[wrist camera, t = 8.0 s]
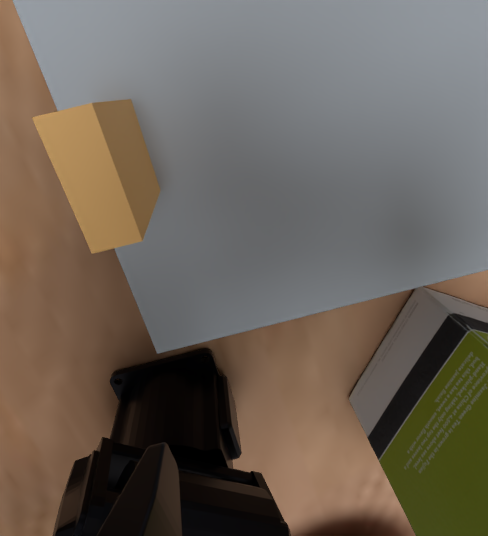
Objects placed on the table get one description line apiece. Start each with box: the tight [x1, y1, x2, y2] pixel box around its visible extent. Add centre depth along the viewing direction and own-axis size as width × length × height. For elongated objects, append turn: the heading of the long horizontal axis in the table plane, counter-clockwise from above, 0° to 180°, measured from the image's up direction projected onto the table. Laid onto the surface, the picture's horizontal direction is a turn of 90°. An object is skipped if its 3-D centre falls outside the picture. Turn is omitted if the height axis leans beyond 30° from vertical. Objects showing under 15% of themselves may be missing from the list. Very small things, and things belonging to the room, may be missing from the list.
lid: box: [13, 0, 488, 354], centre depth 11 cm, size 16×16×6 cm
